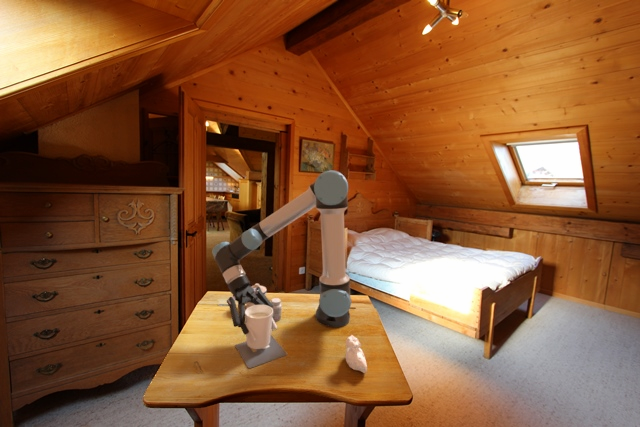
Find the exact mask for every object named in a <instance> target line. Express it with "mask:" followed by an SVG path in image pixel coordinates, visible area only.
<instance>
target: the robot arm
mask: <svg viewBox="0 0 640 427" xmlns="http://www.w3.org/2000/svg"><path fill="white" fill-rule="evenodd" d="M348 192H349V182H348V180H347V178H346V177H345V175H343V173H341V172H340V171H337V170H335V169H334V170H331V169H330V170H324V171H323V172H322V173H320V174H319V175H318V176H317V177H316V179H315V181H314V182H313V183H311V184H310V185H308V189H307V190H306V191H304V192H302V193H301V194H300V195H298V196H297V197H295V198H294V199H292V200H291V201H289V202H288V203H286V204H284V205H283V206H282V207H281V208H278V209H277V210H276V211H274V212H273V213H271V214H270V215H268V216H267V217H265V218H264V219H263V220H261V221H260V222H258V223H257V224H255V225H253V226H252V227H251V228H249V229H248V230H245V231H244V232H242V234H240V235H239V236H237V237H236V238H235V239H234V240H232V242H229V241H222V242H219V243H218V244H216V245H215V246H213V248H212V250H211V253H212V256H213V258H214V261H215V263H216V264H217V266H218V268H219V270H220V273H221V275H222V277H223V278H224V281H225V283H226V285H227V287H228V289H229V291H230V294H231V295H232V296H229V297H228V299H227V300H226V303H227V305H228V307H229V311H230V315H231V316H230V317H231V320H232V321H231V322H232V325H233V327H234V328H235V327H238V328H240V329H241V332H243V335H244V336H246V335H247V337H248V339H249V341H250V343H253V342H254V341H255V340H256V338H255V336H254V334H253V332H252V330H251V328H250V326H249V324H248V322H247V323H245V310H246V304H245V303H248V302H251V303H254V304H255V305H267V306H270V307H271V308H273V305H272V303H271V300H270V299H268V297H267V295H266V296H265V295H264V294H263V292H262V291H261V289H260V287H259V286H258V287H257V288H254V289H253V288H252V287H251V281H250V280H249V277H248V276H247V275H246V274H247V273H246V271H245V270H244V269H243V267H242V264H241V262H240V261H241V260H243V258H244V257H246V256H248V255H249V254H250V253H251V252H254V251H255V250H257V249H258V248H259V247H260V246H261V245H262V244H263V242H264V241H266V240H267V239H269V238H271V237H272V236H273V235H275V234H276V233H277V232H279V231H281V230H283V229H284V228H285V227H287V226H288V225H290V224H292V223H293V222H294V221H296V220H298V219H299V218H301V217H302V216H303V215H305V214H306V213H308V212H310V211H311V210H313V209H314V208H315V209H316V210H317V211H318V212H319V213H320V229H321V230H320V231H321V232H320V233H321V234H320V235H321V252H322V256H321V257H322V273H321V276H319V278H318V279H319V300H318V306H317V308H316V311H315V320H316V321H317V322H318V323H319V324H321V325H322V326H325V327H327V328H328V327H329V328H340V327H341V328H342V327H344V326H347V325H348V324H349V323H350V321H351V318H350V317H351V314H350V310H351V309H350V308H351V305H352V298H351V281H350V280H351V278H350V271H349V270H348V269H347V268H346V244H345V243H346V242H345V240H346V239H345V211H346V210H348V207H349V204H348V202H349V200H348V196H349V195H348V194H349V193H348ZM255 294H256V295H257V296H256V295H255ZM253 298H254V299H253ZM258 298H259V299H260V300H259V299H258ZM236 302H237V304H236ZM278 328H279V327H278V325H277V324H276V321H274V316H272V328H271V332H274V331H275V330H277V329H278Z"/></svg>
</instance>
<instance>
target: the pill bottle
mask: <svg viewBox="0 0 640 427" xmlns="http://www.w3.org/2000/svg"><path fill="white" fill-rule="evenodd" d="M270 302H271V303H272V305H273V308H272V309H273V316H274V321H275V322H277V321H280V320H281V319H282V303H281V302H282V300H281V299H280V298H278V297H275V298H271V300H270Z"/></svg>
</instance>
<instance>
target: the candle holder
mask: <svg viewBox="0 0 640 427" xmlns="http://www.w3.org/2000/svg"><path fill="white" fill-rule="evenodd" d="M272 316H273V309H272V308H271V307H270V306H267V305H253V306H250V307H249V308H247V307H246V308H245V323H247V322H248V324H249V326H250V328H251V330H252V332H253V334H254V336H255V338H256V340H255V341H254V342H253V343H250V341H249V339H248V337H247V335H245V337H246V338H245V339H246V341H247V345H248V346H249V347H250V348H253V349H261V348H264V347H266V346H268V345H269V343H270V339H271V335H272V329H271V328H272ZM246 341H245V342H246Z"/></svg>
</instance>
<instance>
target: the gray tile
mask: <svg viewBox="0 0 640 427" xmlns="http://www.w3.org/2000/svg"><path fill="white" fill-rule="evenodd" d="M234 347H235V349H236V350H237V352H238V354H239V355H240V357H241V359H242V360H243V362H244V363H245V366H246V368H248V370H251V369H254V368H256V367H258V366H259V367H260V366H261V365H265V364H267V363H271V362H272V361H275V360H278V359H280V358H282V357H286V356H288V355H289V354H288V353H287V352H286V351H285V349H284V348H283V347H282V346H281V344H280V343H279V342H278V341H277V340H276V339H275V338H274V336H273V335H272V334H271V339H270V343H269V345H268V346H266V347H264V348H261V349H253V348H250V347H249V346H248V345H247V341H243V342H241V343H237V344H235V345H234Z"/></svg>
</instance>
